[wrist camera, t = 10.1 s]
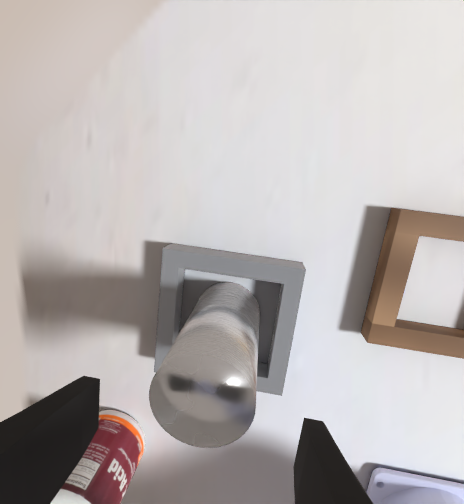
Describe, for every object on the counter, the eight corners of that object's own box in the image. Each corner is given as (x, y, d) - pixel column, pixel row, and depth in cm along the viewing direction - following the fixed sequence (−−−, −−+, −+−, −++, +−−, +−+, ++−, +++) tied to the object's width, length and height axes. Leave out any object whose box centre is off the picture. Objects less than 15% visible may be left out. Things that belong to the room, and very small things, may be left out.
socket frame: (492, 353, 17) (508, 365, 16) (360, 332, 18) (367, 342, 17) (539, 226, 16) (561, 229, 14) (391, 207, 16) (401, 209, 15)
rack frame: (280, 379, 19) (281, 395, 18) (162, 358, 20) (154, 372, 18) (302, 262, 17) (305, 269, 16) (171, 243, 18) (162, 248, 17)
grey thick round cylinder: (254, 346, 19) (246, 457, 11) (193, 334, 19) (145, 435, 12) (264, 288, 18) (264, 365, 10) (200, 277, 18) (153, 344, 11)
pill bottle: (149, 465, 22) (81, 628, 14) (89, 457, 23) (-11, 611, 14) (145, 410, 21) (70, 552, 13) (83, 404, 22) (-29, 536, 13)
